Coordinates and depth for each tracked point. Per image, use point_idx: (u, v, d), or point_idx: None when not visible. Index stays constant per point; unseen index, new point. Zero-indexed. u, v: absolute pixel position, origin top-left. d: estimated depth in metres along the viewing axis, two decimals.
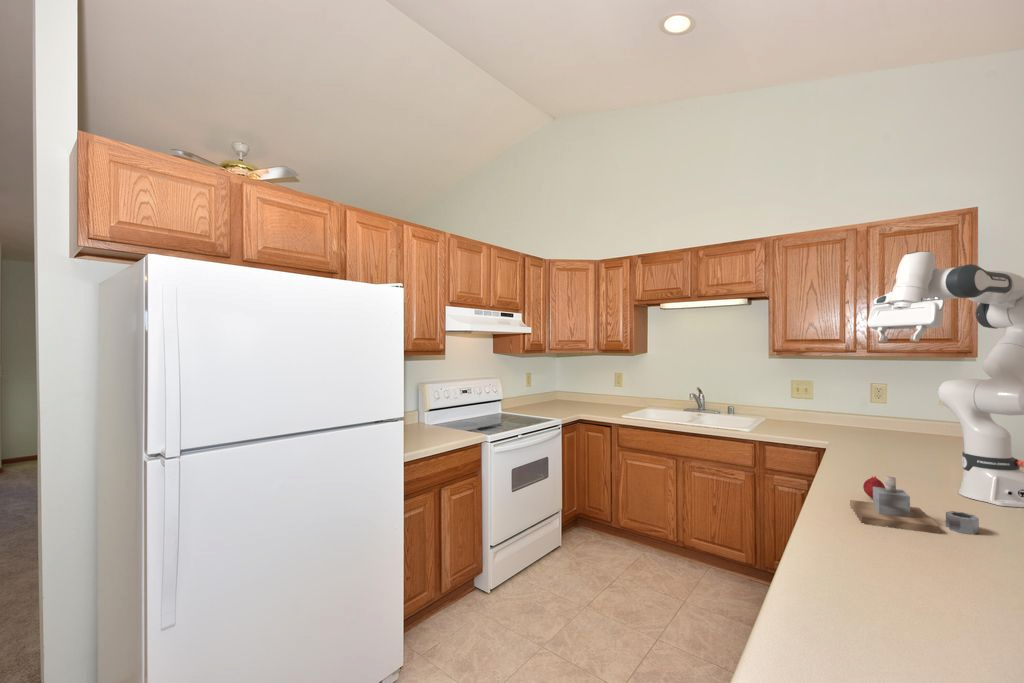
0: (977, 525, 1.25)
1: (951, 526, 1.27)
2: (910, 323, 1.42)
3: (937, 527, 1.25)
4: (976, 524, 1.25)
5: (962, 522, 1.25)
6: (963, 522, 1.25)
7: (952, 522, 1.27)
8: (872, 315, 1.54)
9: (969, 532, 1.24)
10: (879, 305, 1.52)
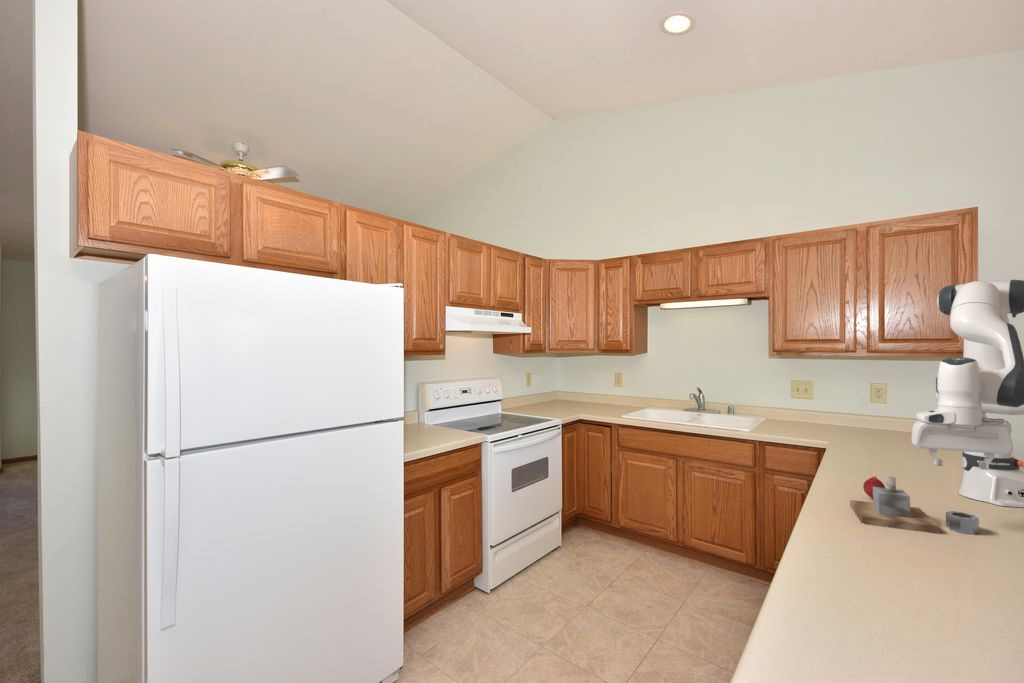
0: (977, 525, 1.25)
1: (951, 526, 1.27)
2: (981, 451, 1.24)
3: (937, 527, 1.25)
4: (976, 524, 1.25)
5: (962, 522, 1.25)
6: (963, 522, 1.25)
7: (952, 522, 1.27)
8: (922, 434, 1.30)
9: (969, 532, 1.24)
10: (932, 424, 1.28)
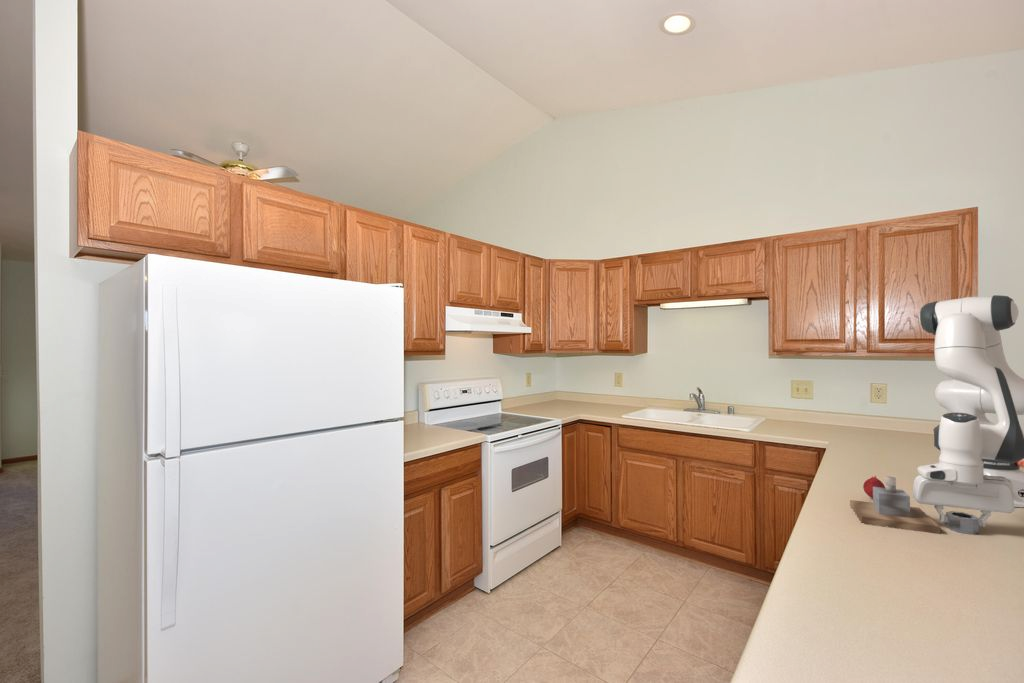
0: (977, 525, 1.25)
1: (951, 526, 1.27)
2: (983, 509, 1.24)
3: (937, 527, 1.25)
4: (976, 524, 1.25)
5: (962, 522, 1.25)
6: (963, 522, 1.25)
7: (952, 522, 1.27)
8: (923, 490, 1.29)
9: (969, 532, 1.24)
10: (933, 480, 1.28)
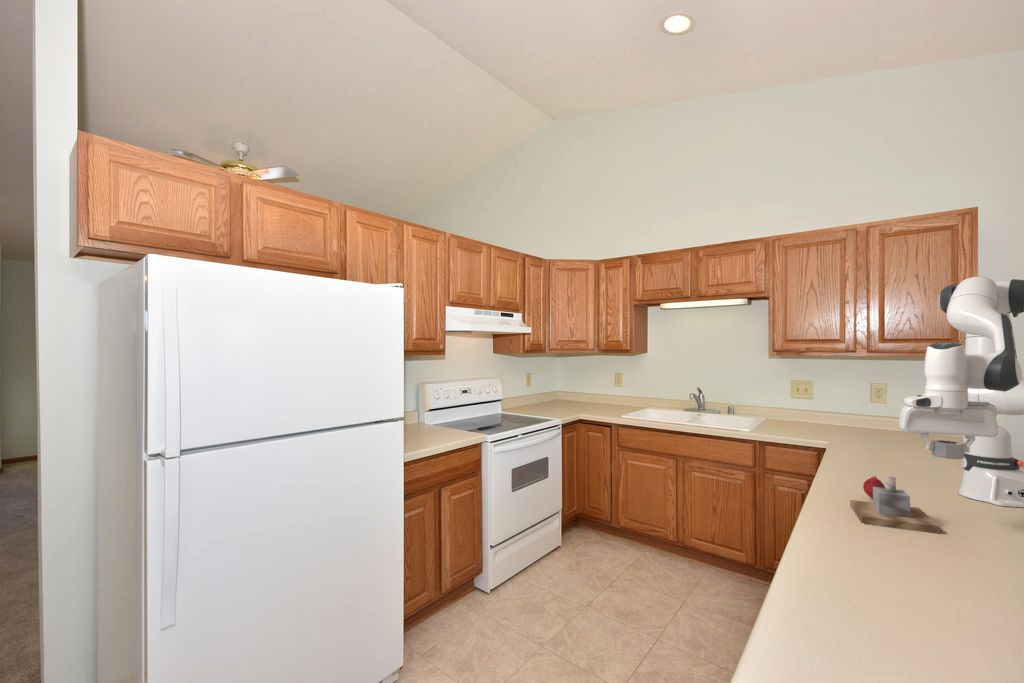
0: (962, 450, 1.26)
1: (937, 453, 1.29)
2: (967, 434, 1.26)
3: (937, 527, 1.25)
4: (961, 449, 1.26)
5: (947, 448, 1.27)
6: (948, 447, 1.26)
7: (937, 448, 1.29)
8: (910, 418, 1.31)
9: (954, 457, 1.26)
10: (919, 408, 1.30)
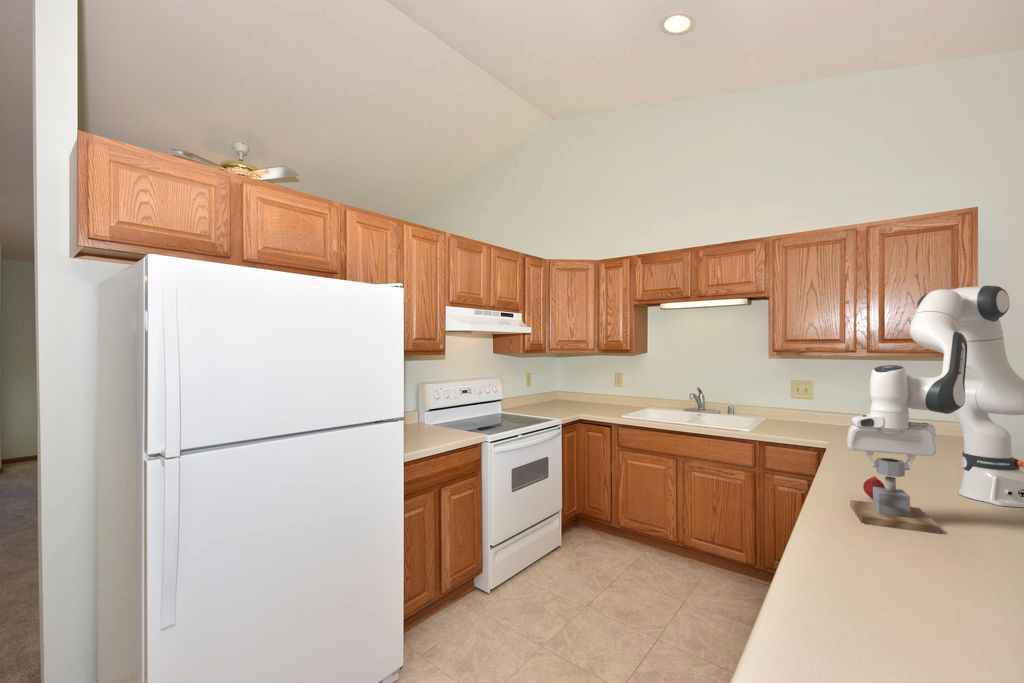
0: (903, 468, 1.33)
1: (880, 470, 1.36)
2: (908, 453, 1.33)
3: (937, 527, 1.25)
4: (902, 467, 1.33)
5: (889, 466, 1.34)
6: (890, 466, 1.33)
7: (880, 466, 1.36)
8: (855, 438, 1.38)
9: (895, 475, 1.33)
10: (864, 428, 1.37)
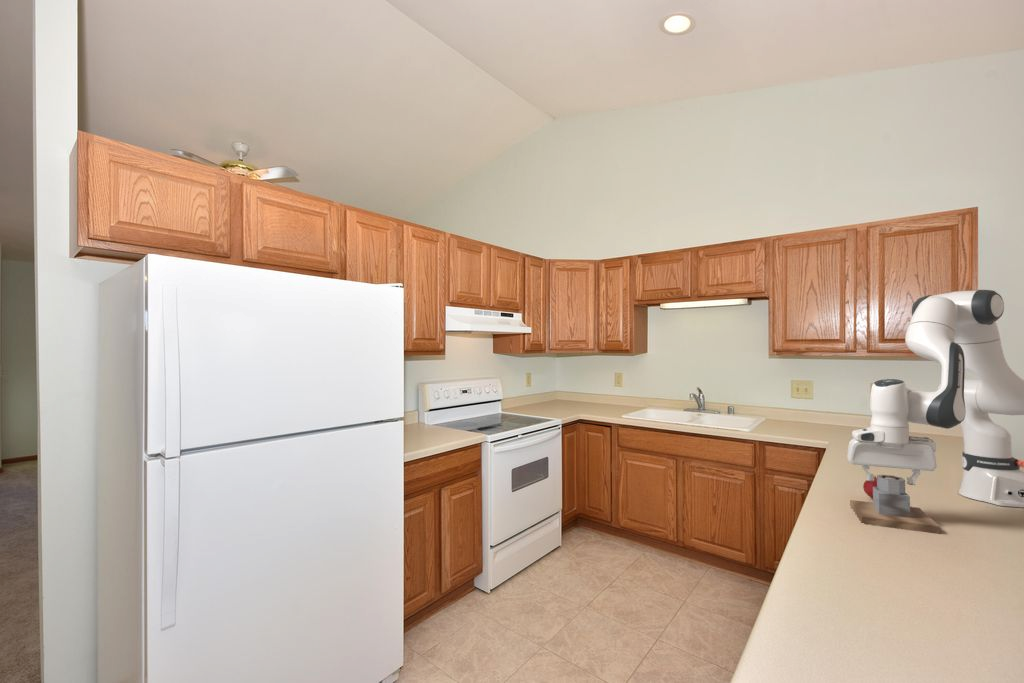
0: (903, 486, 1.33)
1: (880, 488, 1.36)
2: (908, 467, 1.33)
3: (937, 527, 1.25)
4: (902, 485, 1.33)
5: (890, 483, 1.34)
6: (890, 483, 1.33)
7: (881, 484, 1.35)
8: (855, 452, 1.38)
9: (895, 493, 1.33)
10: (864, 442, 1.37)
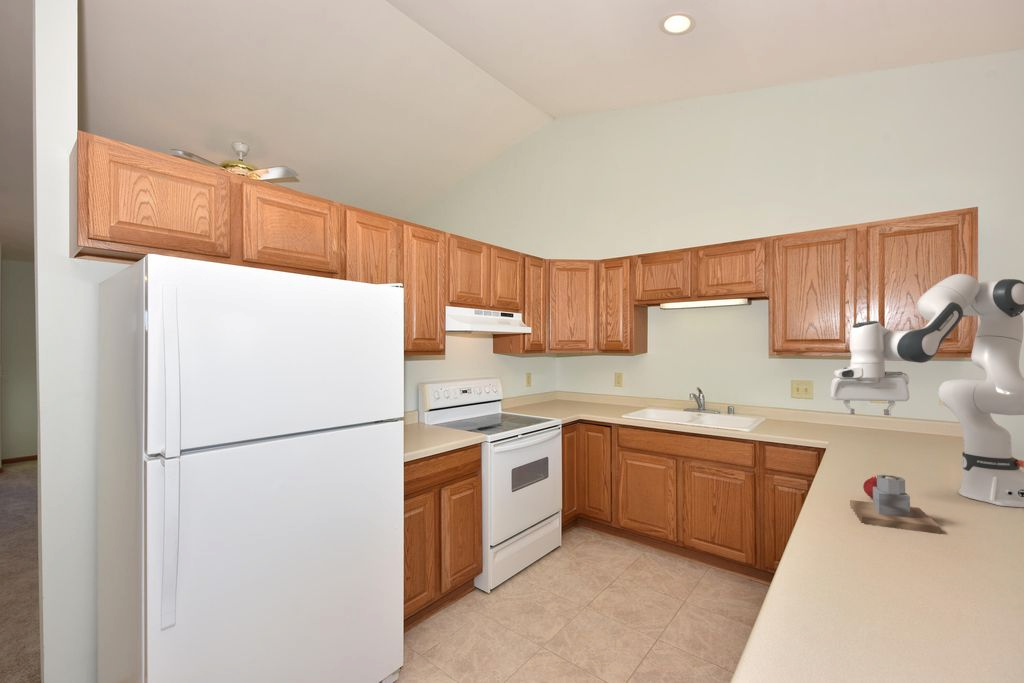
0: (903, 486, 1.33)
1: (880, 488, 1.36)
2: (884, 399, 1.46)
3: (937, 527, 1.25)
4: (902, 485, 1.33)
5: (890, 483, 1.34)
6: (890, 483, 1.33)
7: (881, 484, 1.35)
8: (837, 388, 1.52)
9: (895, 493, 1.33)
10: (845, 379, 1.50)
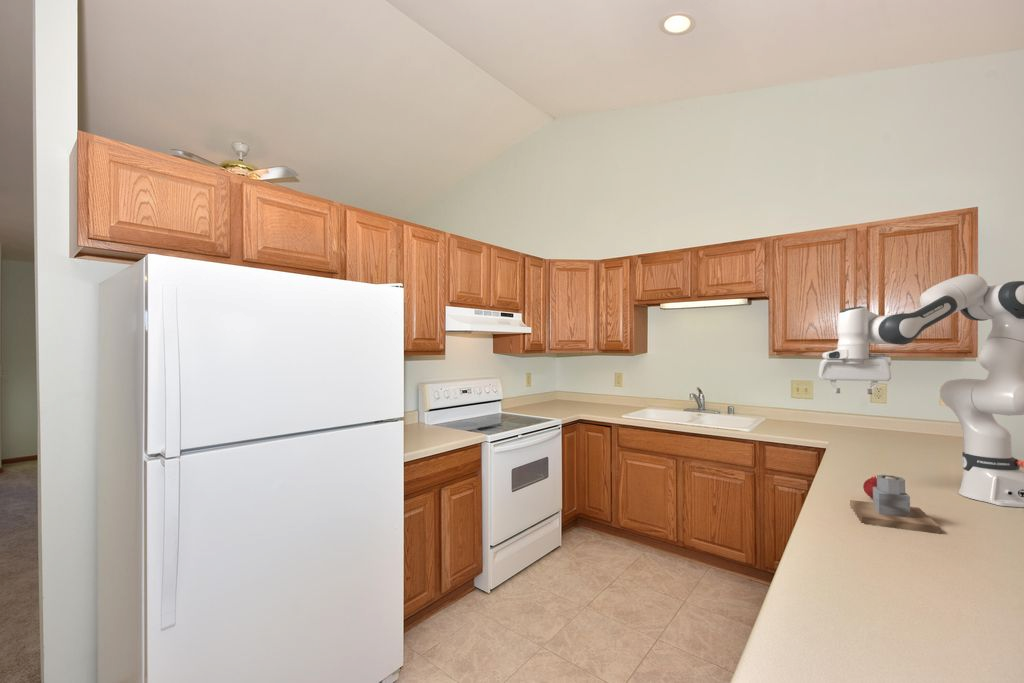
0: (903, 486, 1.33)
1: (880, 488, 1.36)
2: (868, 379, 1.57)
3: (937, 527, 1.25)
4: (902, 485, 1.33)
5: (890, 483, 1.34)
6: (890, 483, 1.33)
7: (881, 484, 1.35)
8: (824, 368, 1.62)
9: (895, 493, 1.33)
10: (831, 360, 1.61)
